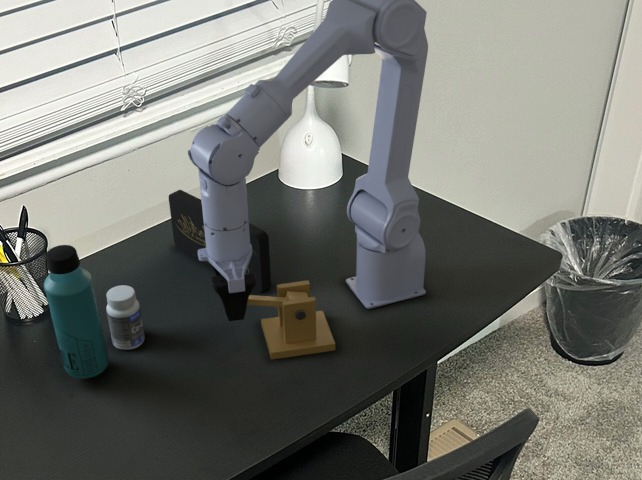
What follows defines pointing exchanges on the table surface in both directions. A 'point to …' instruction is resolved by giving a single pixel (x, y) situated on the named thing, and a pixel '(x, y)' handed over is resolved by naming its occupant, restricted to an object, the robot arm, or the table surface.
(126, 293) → the pill bottle
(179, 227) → the nameplate
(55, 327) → the beverage bottle
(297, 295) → the handle
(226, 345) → the table surface
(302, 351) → the wooden lever stand
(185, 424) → the table surface
